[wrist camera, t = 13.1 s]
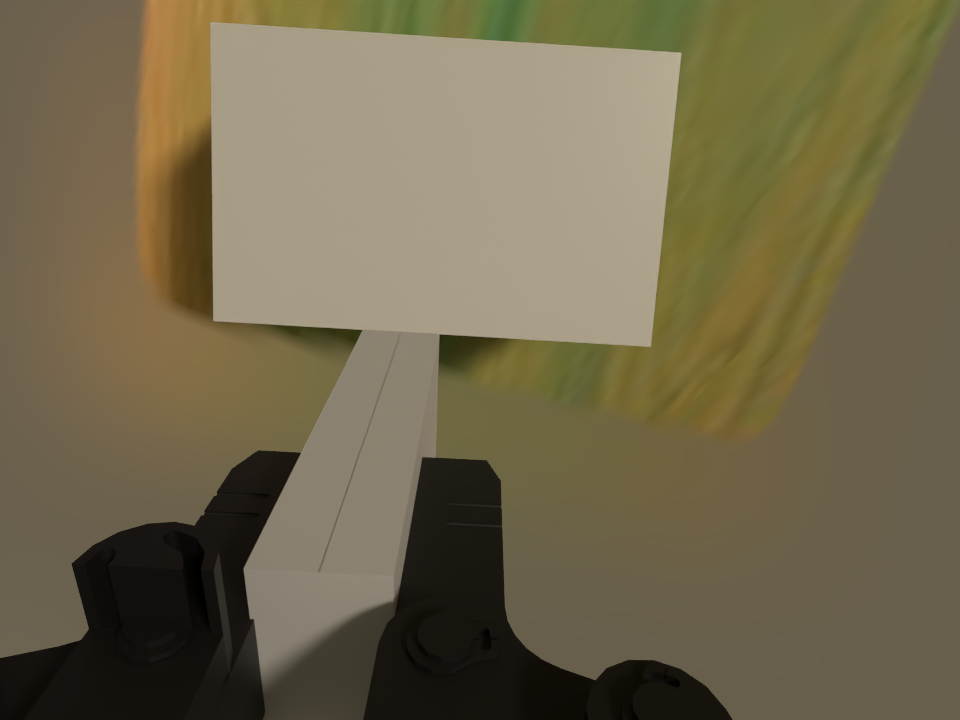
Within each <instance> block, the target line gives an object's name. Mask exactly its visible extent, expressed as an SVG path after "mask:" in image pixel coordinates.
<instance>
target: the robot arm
mask: <svg viewBox="0 0 960 720" xmlns="http://www.w3.org/2000/svg"><path fill="white" fill-rule="evenodd" d="M439 335H440V334H435V333H417V332H399V331H382V330H364V329H363V330H362V332H361V334H360V336H359V338H358V340H357V342H356V344H355V346H354V348H353V350H352V352H351V354H350V356H349V358H348V360H347V362H346V364H345V366H344V368H343V370H342V372H341V374H340V376H339V378H338V380H337V382H336V384H335V386H334V388H333V390H332V392H331V394H330V396H329V399H328V400H327V403H326V405H325V407H324V408H323V411H322V412H321V415H320V417H319V418H318V420H317V423H316V424H315V427H314V429H313V430H312V432H311V434H310V436H309V438H308V440H307V442H306V444H305V447H304V449H303V450H302V452H301V453H296V452H276V451H257V452H255V453H254V454H252V455H251V456H250V457H248V458H247V459H245V460H244V461H242V462H241V463H240V464H238V465H237V466H235V467H234V468H232V470H231V471H230V473H229V474H228V476H227V477H226V479H225V480H224V482H223V483H222V485H221V487H220V488H219V489H218V491H217V496H214V497H213V499H212V500H211V502H210V503H209V505H208V506H207V508H206V509H205V513H204V516H201V517H200V518H199V520H198V521H197V523H196V525H195V526H192V525H188V524H183V523H177V522H167V523H152V524H145V525H142V526H138V527H135V528H131V529H128V530H124V531H121V532H118V533H116V534H114V535H112V536H110V537H108V538H107V539H105V540H103V541H101V542H99V543H97V544H95V545H93V546H92V547H91V548H89V550H87V551H86V552H85V553H84V554H82V555H81V556H80V557H79V558H78V559H77V560H75V562H73V563H72V567H73V571H74V574H75V578H76V581H77V586H78V589H79V593H80V597H81V600H82V604H83V608H84V612H85V615H86V619H87V623H88V626H89V630H88V631H87V633H86V634H85V635H84V637H83V638H82V640H80V641H77V642H73V643H69V644H66V645H62V646H59V647H54V648H48V649H43V650H39V651H34V652H29V653H24V654H19V655H14V656H9V657H4V658H0V720H732V718H731V717H730V715H729V713H728V712H727V711H726V709H725V708H724V706H723V705H722V704H721V703H720V702H719V701H718V700H717V698H716V697H715V696H714V695H713V694H712V693H711V691H710V690H709V689H708V688H707V687H706V686H705V685H703V684H702V683H701V682H699V681H698V680H696V679H694V678H693V677H692V676H690V675H689V674H687V673H686V672H684V671H682V670H681V669H678V668H676V667H673V666H670V665H666V664H663V663H660V662H657V661H654V660H627V661H624V662H622V663H619V664H617V665H614V666H611V667H609V668H606V670H605V671H604V672H603V673H602V674H601V675H600V676H599V677H598V678H597V679H596V680H593V679H590V678H587V677H584V676H581V675H578V674H575V673H572V672H569V671H567V670H564V669H561V668H559V667H557V666H554V665H552V664H550V663H548V662H546V661H544V660H542V659H540V658H539V657H538V656H536V655H535V654H533V653H532V652H531V651H529V650H528V649H527V648H526V647H525V646H524V645H523V644H522V643H521V641H520V640H519V639H518V638H517V637H516V636H515V634H514V632H513V631H512V629H511V627H510V625H509V623H508V621H507V616H506V611H505V601H504V570H503V538H502V509H501V481H500V479H499V478H498V476H497V475H496V473H495V472H494V470H493V469H492V468H491V466H490V465H489V463H488V462H487V461H486V460H468V459H449V458H435V454H436V429H437V398H438V367H439Z"/></svg>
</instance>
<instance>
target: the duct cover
mask: <svg viewBox="0 0 960 720" xmlns="http://www.w3.org/2000/svg"><path fill="white" fill-rule="evenodd" d="M210 29H211V135H212V241H213V321H219V322H237V323H254V324H271V325H288V326H305V327H322V328H339V329H356V330H363V329H364V330H382V331H399V332H417V333H435V334H442V335H459V336H476V337H494V338H511V339H528V340H545V341H562V342H579V343H596V344H613V345H631V346H648V347H651V338H652V329H653V319H654V310H655V300H656V291H657V281H658V271H659V262H660V252H661V243H662V233H663V224H664V214H665V204H666V195H667V185H668V176H669V166H670V157H671V147H672V137H673V128H674V118H675V109H676V99H677V89H678V80H679V70H680V61H681V53H677V52H662V51H647V50H631V49H616V48H601V47H585V46H570V45H554V44H539V43H524V42H508V41H493V40H478V39H462V38H447V37H432V36H416V35H401V34H386V33H370V32H355V31H340V30H324V29H309V28H293V27H278V26H263V25H247V24H232V23H217V22H210Z"/></svg>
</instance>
